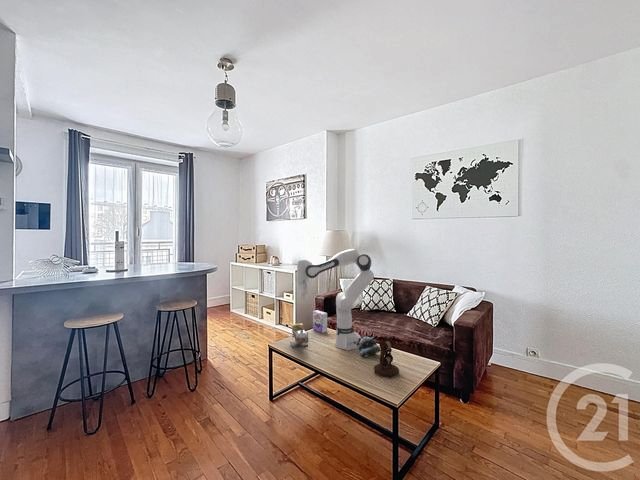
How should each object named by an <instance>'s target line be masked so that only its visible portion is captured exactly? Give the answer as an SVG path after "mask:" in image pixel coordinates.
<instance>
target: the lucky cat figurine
mask: <svg viewBox="0 0 640 480" xmlns="http://www.w3.org/2000/svg"><path fill="white" fill-rule="evenodd" d="M356 345H357V348H356V349H357V350H358V352H359V355H360V357H361V358H363V359H364V358H366V357H369V356H373V355H375V354H377V353H380V350H381V348H380V346H379V345H378V344H377V341H376V338H375V336H371V335H370V334H368V335H367V336H363V337H361V338H359V340H358V342H356Z"/></svg>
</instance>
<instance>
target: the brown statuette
mask: <svg viewBox="0 0 640 480" xmlns="http://www.w3.org/2000/svg"><path fill="white" fill-rule="evenodd" d="M378 346H379V348H380V352H379V363H376V364H375V365H374V367H373V370H374V373H375V374H378V375H380V376H384V377H389V379H391V378H392V377H394V376H397V375H399V373H400V368H399V367H398V366H397V365H395V364H393V363H392V362H393V361H394V357H393V355H392V351H393V350H392V349H393V348H392V347H393V346H394V341H393V340H392V339H391V338H389V337H387V338H385V339H384V340H382V341H380V342H379V344H378Z"/></svg>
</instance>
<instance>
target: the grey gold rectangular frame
mask: <svg viewBox="0 0 640 480" xmlns="http://www.w3.org/2000/svg"><path fill="white" fill-rule="evenodd" d="M291 329H292V330H291V332H292V338H294V341H290V342H289V344H290V346H291V349H298V348H308V347H309V344H308V343H310V341H309V332H306V338H303V339H299V338H298V331H300V330H303V331H304V324H303V323H301V322H300V323H292V324H291Z"/></svg>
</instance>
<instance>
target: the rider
mask: <svg viewBox="0 0 640 480" xmlns="http://www.w3.org/2000/svg"><path fill="white" fill-rule="evenodd" d="M306 334H307V332H306V331H305V330H304V331H303V330H300V331H298V338H299V339H303V338H306Z"/></svg>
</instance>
